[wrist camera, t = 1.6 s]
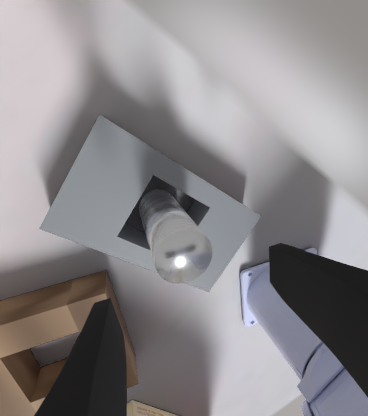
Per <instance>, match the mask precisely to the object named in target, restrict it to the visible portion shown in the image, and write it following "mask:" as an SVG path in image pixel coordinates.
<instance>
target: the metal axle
mask: <svg viewBox="0 0 368 416" xmlns="http://www.w3.org/2000/svg"><path fill="white" fill-rule="evenodd" d="M139 213H140V216H141V220H142V223H143V227H144V230H145V233H146V237H147V240H148V244H149V247H150V251H151V254H152V257H153V261H154V264H155V268H156V270H157V272H158V274H159V275H160V276H161V277H162V278H163V279H165V280H166V281H169V282H172V283H186V282H189V281H192V280H194V279H196V278H197V277H199V276H200V275H201V274H203V273H204V272H205V270H206V269H207V268H208V266H209V264H210V262H211V259H212V254H213V251H212V245H211V243H210V241H209V240H208V238H207V237H206V236H205V235H204V233H203V232H202V231H201V230H200V229H199V227H198V226H197V225H196V224H195V222H194V221H193V220H192V219H191V218H190V216H189V215H188V214H187V213H186V211H185V210H184V209H183V208H182V207H181V205H180V204H179V203H178V202H177V200H176V199H175V198H174V197H173V196H172V195H171V194H170V193H169V192H167V191H165V190H160V189H159V190H153V191H150V192H148V193H147V194H145V195H144V196H143V198H142V199H141V201H140V204H139Z"/></svg>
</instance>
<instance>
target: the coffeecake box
mask: <svg viewBox="0 0 368 416" xmlns="http://www.w3.org/2000/svg"><path fill="white" fill-rule="evenodd" d="M127 416H178V415H175V414H172V413H169V412H166V411H163V410H160V409H157V408H154V407H151V406H148V405H145V404H142V403H140V402H137V401H134V400H131V401H130V402H129V403H128V404H127Z"/></svg>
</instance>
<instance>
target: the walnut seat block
mask: <svg viewBox="0 0 368 416" xmlns="http://www.w3.org/2000/svg"><path fill="white" fill-rule="evenodd" d="M108 298H111V301H112V304H113V306H114V309H115V312H116V315H117V317H118V320H119V323H120V326H121V328H122V331H123V334H124V342H125V351H126V363H127V388H129V387H131V386H134V385H136V384H138V379H137V368H136V358H135V353H134V350H133V347H132V344H131V341H130V338H129V335H128V332H127V329H126V326H125V323H124V320H123V317H122V314H121V311H120V309H119V306H118V303H117V300H116V297H115V294H114V291H113V288H112V285H111V282H110V279H109V276H108V273H107V270H105V271H102V272H98V273H95V274H91V275H88V276H85V277H81V278H78V279H74V280H71V281H67V282H64V283H60V284H57V285H53V286H50V287H46V288H43V289H39V290H36V291H33V292H29V293H26V294H22V295H19V296H15V297H12V298H8V299H5V300H1V301H0V416H34V415H35V413H36V412H37V410H38V409H39V407H40V405H41V404H42V402H43V400H44V399H45V397H46V395H47V394H48V392H49V390H50V389H51V387H52V385H53V383H54V382H55V380H56V378H57V376H58V374H59V373H60V371H61V369H62V367H63V366H64V364H65V362H66V360H67V359H64V360H61V361H58V362H55V363H53V364H50V365H47V366H44V367H40V366H39V364H38V362H37V360H36V359H35V357H34V355H33V354H32V352H31V350H30V349H29V348H32V347H35V346H38V345H41V344H44V343H47V342H50V341H53V340H56V339H59V338H62V337H65V336H68V335H71V334H74V333H77V332H79V333H80V332H81V330H82V328H83V326H84V324H85V322H86V319H87V317H88V315H89V313H90V310H91V308H92V306H93V304H94V303H95V302H98V301H102V300H105V299H108Z"/></svg>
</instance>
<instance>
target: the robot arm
mask: <svg viewBox="0 0 368 416" xmlns="http://www.w3.org/2000/svg"><path fill="white" fill-rule="evenodd" d="M240 281H241V296H242V311H243V324H244V325H245V326H246V327H249V326H252V325H254V324H257V323H259V324H260V325H261V326H262V328H263V329H264V331H265V332H266V333H267V335H268V336H269V337H270V339H271V340H272V341H273V343H274V344H275V346H276V347H277V348H278V350H279V351H280V352H281V354H282V355H283V357H284V358H285V359H286V361H287V362H288V363H289V365H290V366H291V367H292V369H293V370H294V372H295V373H296V374H297V376H298V377H299V378H300V380H301V382H300V383H299V384H298V385H297V387H298V388H299V390H300V391H301V393H302V394H303V396H304V397H305V398H306V400H305V401H304V402H303V404H302V409H303V414H304V416H368V271H367V270H364V269H360V268H357V267H353V266H350V265H347V264H343V263H340V262H337V261H334V260H331V259H328V258H325V257H322V256H319V255H317V250H316V249H315V248H309V249H306V250H301V249H298V248H295V247H292V246H289V245H286V244H282V243H280V244H277V245H274V246H270V247H269V262H267V263H264V264H260V265H257V266H254V267H251V268H248V269H245V270H243V271H242V272H241V273H240ZM34 416H127V363H126V351H125V342H124V334H123V331H122V328H121V326H120V323H119V320H118V317H117V315H116V312H115V309H114V306H113V304H112V301H111V298H108V299H105V300H102V301H98V302H95V303H94V304H93V306H92V308H91V310H90V313H89V315H88V317H87V319H86V322H85V324H84V326H83V328H82V330H81V332H80V334H79V336H78V338H77V340H76V342H75V344H74V346H73V348H72V350H71V352H70V354H69V356H68V358H67V360H66V362H65V364H64V366H63V367H62V369H61V371H60V373H59V374H58V376H57V378H56V380H55V382H54V383H53V385H52V387H51V389H50V390H49V392H48V394H47V395H46V397H45V399H44V400H43V402H42V404H41V405H40V407H39V409H38V410H37V412H36V413H35V415H34Z"/></svg>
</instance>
